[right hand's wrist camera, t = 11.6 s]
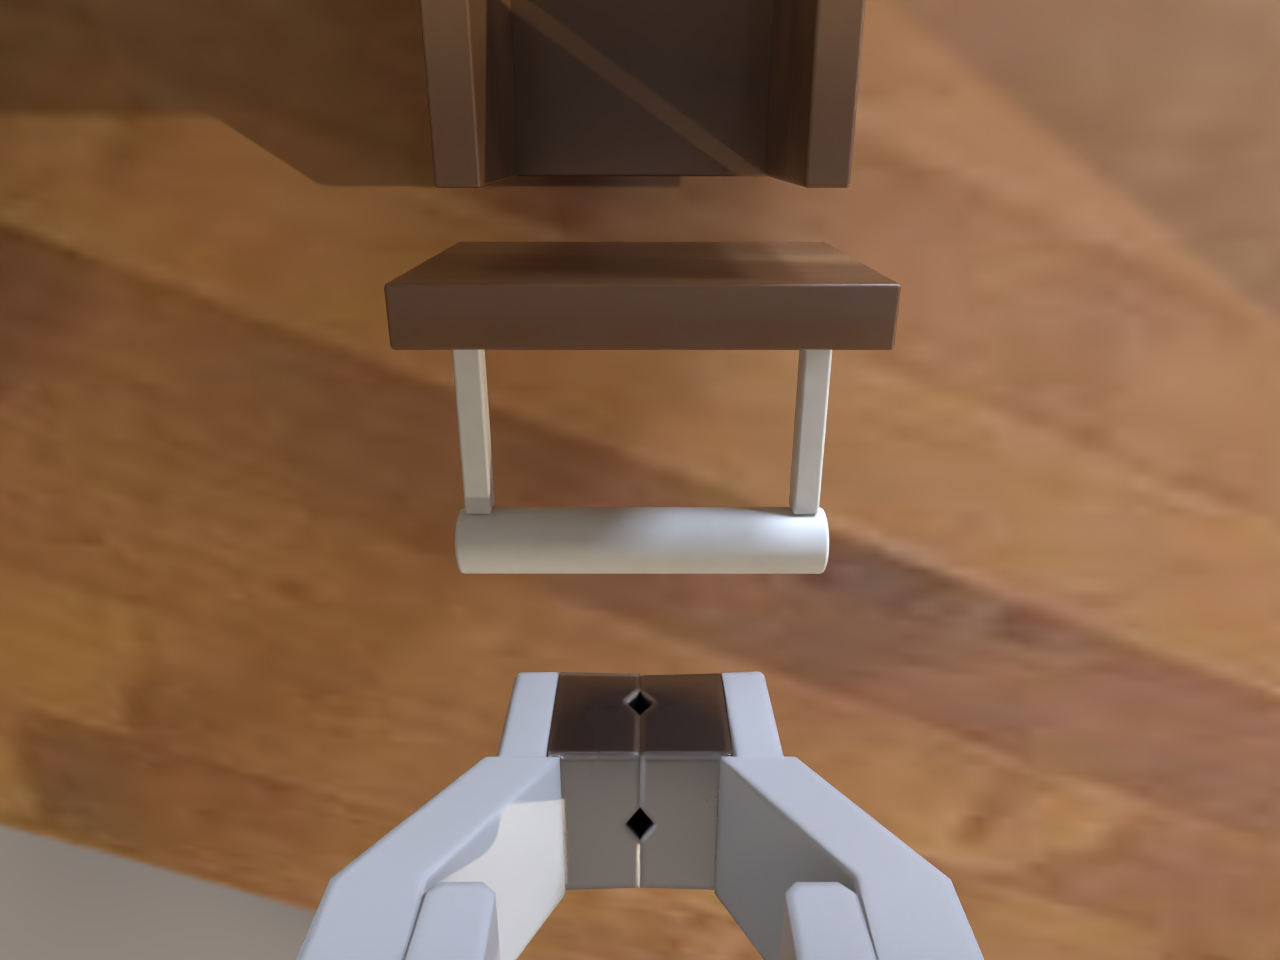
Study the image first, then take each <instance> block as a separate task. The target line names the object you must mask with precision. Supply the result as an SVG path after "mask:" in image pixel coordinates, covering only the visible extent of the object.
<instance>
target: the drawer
mask: <svg viewBox="0 0 1280 960" xmlns="http://www.w3.org/2000/svg"><path fill="white" fill-rule="evenodd" d="M865 1H866V0H420V9H421V21H422V33H423V45H424V58H425V70H426V82H427V94H428V106H429V118H430V130H431V142H432V154H433V166H434V178H435V185H436V187H438V188H479V187H482V186H486V185H489V184H492V183H496V182H499V181H502V180H506V179H509V178H512V177H516V176H769V177H772V178H776V179H779V180H783V181H786V182H790V183H793V184H796V185H800V186H803V187H807V188H846V187H848V186H849V184H850V178H851V166H852V154H853V142H854V131H855V119H856V107H857V95H858V84H859V72H860V60H861V48H862V37H863V25H864V13H865ZM384 290H385V300H386V309H387V318H388V327H389V337H390V345H391V348H392V349H395V350H452V355H453V367H454V380H455V392H456V404H457V417H458V429H459V441H460V453H461V466H462V478H463V490H464V503H465V507H464V508H462V509H461V510H460V512H459V514H458V518H457V522H456V530H455V554H456V561H457V565H458V568H459V570H460V572H462V573H602V574H820V573H822V572H824V570H825V568H826V565H827V561H828V554H829V531H828V523H827V518H826V515H825V512H824V510H823V509H822V508H820V507H819V501H820V489H821V477H822V465H823V453H824V441H825V429H826V417H827V405H828V393H829V381H830V369H831V357H832V350H890V349H893V347H894V345H895V336H896V327H897V317H898V308H899V299H900V290H901V287H900V284H898V283H896V282H895V281H893V280H891V279H889V278H887V277H886V276H884V275H882V274H880V273H879V272H877V271H875V270H873V269H871V268H870V267H868V266H866V265H864V264H862V263H861V262H859V261H857V260H855V259H854V258H852V257H850V256H848V255H846V254H845V253H843V252H841V251H839V250H837V249H836V248H834V247H832V246H830V245H829V244H827V243H825V242H459V243H457V244H455V245H453V246H452V247H450V248H448V249H446V250H445V251H443V252H441V253H439V254H438V255H436V256H434V257H432V258H431V259H429V260H427V261H425V262H424V263H422V264H420V265H418V266H417V267H415V268H413V269H411V270H409V271H408V272H406V273H404V274H402V275H401V276H399V277H397V278H395V279H394V280H392V281H390V282H388V283H387V284H385V287H384ZM485 350H800V351H799V365H798V380H797V394H796V409H795V423H794V438H793V452H792V466H791V481H790V495H789V504H790V507H494V504H495V496H494V482H493V467H492V452H491V437H490V422H489V407H488V392H487V377H486V362H485Z"/></svg>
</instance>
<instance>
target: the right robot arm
mask: <svg viewBox="0 0 1280 960" xmlns="http://www.w3.org/2000/svg"><path fill="white" fill-rule="evenodd" d="M639 887H640V888H674V889H710V890H715V894H716V896H717V897H718V898H719V900H720V901H721V902H722V904H723V905H724V906H725V908H726V909H727V910H728V912H729V913H730V914H731V916H732V917H733V918H734V920H735V921H736V922H737V924H738V925H739V926H740V928H741V929H742V930H743V932H744V933H745V934H746V936H747V937H748V938H749V940H750V941H751V942H752V944H753V945H754V946H755V948H756V949H757V950H758V952H759V953H760V955H761V956H762V957H763V959H764V960H984V958H983V956H982V953H981V951H980V949H979V946H978V944H977V941H976V939H975V937H974V934H973V932H972V930H971V927H970V925H969V922H968V920H967V918H966V915H965V913H964V911H963V908H962V906H961V903H960V901H959V899H958V896H957V894H956V891H955V889H954V887H953V884H952V882H951V880H950V879H949V878H948V877H947V876H945V875H944V874H943V873H941V872H940V871H939V870H938V869H936V868H935V867H934V866H933V865H931V864H930V863H929V862H928V861H926V860H925V859H924V858H923V857H921V856H920V855H919V854H917V853H916V852H915V851H914V850H912V849H911V848H910V847H909V846H907V845H906V844H905V843H904V842H902V841H901V840H900V839H899V838H897V837H896V836H895V835H894V834H892V833H891V832H890V831H888V830H887V829H886V828H885V827H883V826H882V825H881V824H880V823H878V822H877V821H876V820H875V819H873V818H872V817H871V816H870V815H868V814H867V813H866V812H864V811H863V810H862V809H861V808H859V807H858V806H857V805H856V804H854V803H853V802H852V801H851V800H849V799H848V798H847V797H846V796H844V795H843V794H842V793H840V792H839V791H838V790H837V789H835V788H834V787H833V786H832V785H830V784H829V783H828V782H827V781H825V780H824V779H823V778H822V777H820V776H819V775H818V774H816V773H815V772H814V771H813V770H811V769H810V768H809V767H808V766H806V765H805V764H804V763H803V762H801V761H800V760H799V759H798V758H796V757H783V753H782V748H781V744H780V740H779V736H778V732H777V727H776V723H775V719H774V715H773V711H772V707H771V702H770V698H769V694H768V690H767V686H766V681H765V677H764V675H763V674H762V673H761V672H733V673H720V674H673V675H640V674H618V673H569V672H561V673H560V674H559V673H558V672H519V674H518V675H517V676H516V678H515V680H514V685H513V689H512V693H511V697H510V702H509V706H508V710H507V714H506V719H505V723H504V727H503V731H502V736H501V740H500V744H499V748H498V753H497V757H484V758H483V759H481V760H480V761H479V762H477V763H476V764H475V765H474V766H472V767H471V768H470V769H469V770H467V771H466V772H465V773H463V774H462V775H461V776H460V777H458V778H457V779H456V780H455V781H453V782H452V783H451V784H450V785H448V786H447V787H446V788H444V789H443V790H442V791H441V792H439V793H438V794H437V795H436V796H434V797H433V798H432V799H431V800H429V801H428V802H427V803H425V804H424V805H423V806H422V807H420V808H419V809H418V810H417V811H415V812H414V813H413V814H411V815H410V816H409V817H408V818H406V819H405V820H404V821H403V822H401V823H400V824H399V825H398V826H396V827H395V828H394V829H392V830H391V831H390V832H389V833H387V834H386V835H385V836H384V837H382V838H381V839H380V840H378V841H377V842H376V843H375V844H373V845H372V846H371V847H370V848H368V849H367V850H366V851H365V852H363V853H362V854H361V855H359V856H358V857H357V858H356V859H354V860H353V861H352V862H351V863H349V864H348V865H347V866H346V867H344V868H343V869H342V870H340V871H339V872H338V873H337V874H335V875H334V876H333V877H332V878H330V881H329V883H328V885H327V888H326V890H325V892H324V895H323V897H322V899H321V902H320V904H319V906H318V909H317V911H316V914H315V916H314V918H313V921H312V923H311V925H310V928H309V930H308V932H307V935H306V937H305V939H304V942H303V944H302V946H301V949H300V951H299V953H298V956H297V958H296V960H516V959H517V958H518V956H519V955H520V954H521V952H522V951H523V950H524V948H525V947H526V946H527V944H528V943H529V942H530V940H531V939H532V938H533V936H534V935H535V934H536V932H537V931H538V930H539V928H540V927H541V926H542V924H543V923H544V922H545V920H546V919H547V918H548V916H549V915H550V914H551V912H552V911H553V910H554V908H555V907H556V906H557V904H558V903H559V902H560V900H561V899H562V898H563V896H564V895H565V890H570V889H604V888H639Z"/></svg>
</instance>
